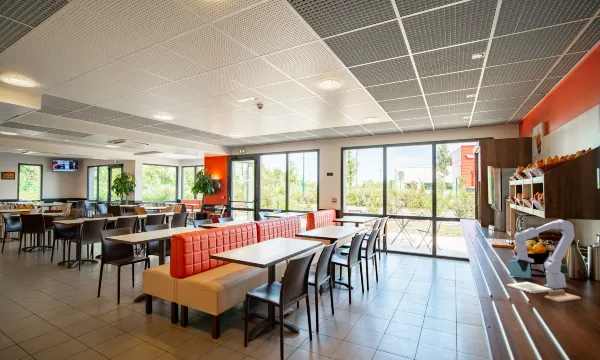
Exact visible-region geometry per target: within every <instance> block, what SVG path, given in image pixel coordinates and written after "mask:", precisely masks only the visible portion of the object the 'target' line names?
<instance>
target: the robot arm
mask: <svg viewBox="0 0 600 360" xmlns="http://www.w3.org/2000/svg"><path fill="white" fill-rule="evenodd" d="M574 227H575V226H574V225H573V223H572V222H571V221H569V220H564V219H561V218H560V219H556V220H553V221H550V222H548V223H545V224H543V225H541V226H538V227H536V228H534V227H528V228H527V229H526V230H521V231H520V232H516V233H514V235H513V239H514V240H515V249H516V255H512V260H518V261H517V262H518V264H519V265H520V267H521V269H522V271H523V272H526V271H527V266H528V264H529V263H531V264H532V263H535V260H534V258H531V257H529V256H528V248H527V247H528V246H527V242H526V241H527V240H530V239H533V238H536V237H538V236H539V234H540V233H544V232H546V231H550V230H552V229H553V230H554V229H555V230H559V231H560V233H561V234H562V236H561V238H560V239H559V242H558V245H557V247H556V249H554V251H553V253H552V254H551V256H550V257H549V258H548V259H547V260H546V261H544V263H543V268H544V269H545V279H546V284H543V286H544V287H547V288H551V289H554V290H558V289H563V288H564V289H565V288H568V285H567V281H565V276H564V274H563V273H561V272H560V271H561V265H562V263H561V260H562V259H563V257H564V258H565V255H566V253H567V251H568V249H569V247H570V246H571V245H572V242H573V240H574V238H575V230H574V229H575V228H574Z"/></svg>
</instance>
